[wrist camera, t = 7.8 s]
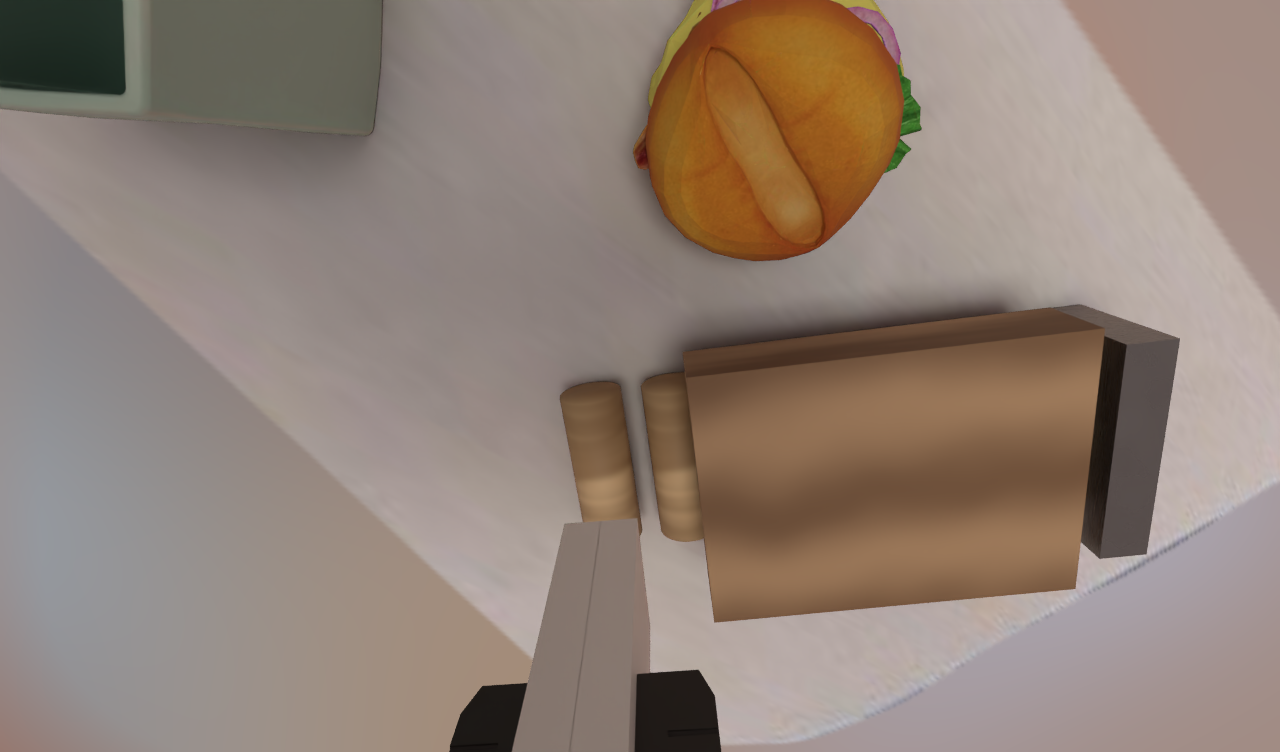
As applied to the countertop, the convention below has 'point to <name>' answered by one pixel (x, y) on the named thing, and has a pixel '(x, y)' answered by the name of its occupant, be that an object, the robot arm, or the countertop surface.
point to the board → (894, 463)
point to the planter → (196, 61)
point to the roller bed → (608, 459)
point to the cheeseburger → (774, 122)
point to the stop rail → (1126, 433)
